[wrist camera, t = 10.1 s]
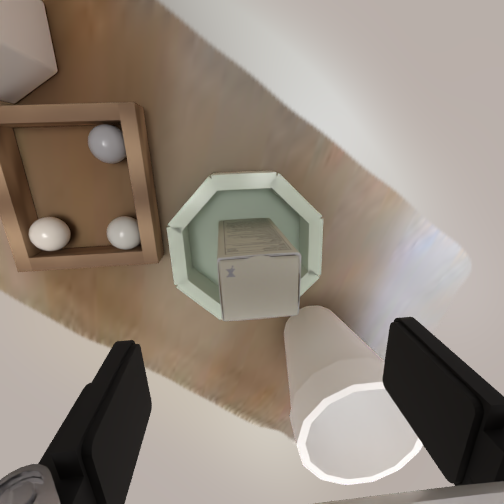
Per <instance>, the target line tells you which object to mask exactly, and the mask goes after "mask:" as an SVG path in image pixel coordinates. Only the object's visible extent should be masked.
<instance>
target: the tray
mask: <svg viewBox="0 0 504 504" xmlns="http://www.w3.org/2000/svg"><path fill="white" fill-rule="evenodd" d="M101 124H109V125H110V124H121V126H122V132H123V138H124V144H125V150H126V156H127V162H128V168H129V174H130V179H131V185H132V191H133V197H134V203H135V209H136V215H137V221H138V227H139V233H140V239H141V244H139V245H138V246H136V247H134V248H132V249H128V250H123V249H119V248H117V247H115V246H98V247H81V248H64V249H59V250H56V251H45V250H42V249H39V248H37V247H36V246H35V245H34V244H33V243H32V242H31V240H30V238H29V229H30V226H31V225H32V224H33V223H34V222H35V221H36V220H38V218H37V214H36V211H35V207H34V204H33V200H32V196H31V193H30V189H29V186H28V182H27V178H26V175H25V171H24V168H23V164H22V160H21V157H20V153H19V150H18V146H17V142H16V139H15V135H14V132H13V128H16V127H47V126H78V125H101ZM0 217H1V220H2V223H3V226H4V229H5V232H6V236H7V239H8V242H9V245H10V248H11V251H12V254H13V257H14V261H15V264H16V267H17V270H18V272H28V271H43V270H59V269H75V268H91V267H107V266H122V265H138V264H154V263H159V261H160V260H161V258H162V257H163V255H164V250H163V243H162V236H161V229H160V222H159V214H158V207H157V200H156V193H155V186H154V179H153V172H152V165H151V158H150V151H149V144H148V137H147V130H146V123H145V116H144V109H143V107H141V106H140V105H138V104H136V103H135V102H116V103H80V104H43V105H6V106H0Z"/></svg>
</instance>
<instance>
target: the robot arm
mask: <svg viewBox="0 0 504 504" xmlns="http://www.w3.org/2000/svg"><path fill="white" fill-rule="evenodd" d="M382 380H383V385H384V387H385V389H386V391H387V392H388V394H389V395H390V397H391V398H392V400H393V401H394V403H395V404H396V405H397V407H398V408H399V410H400V411H401V413H402V414H403V416H404V417H405V419H406V420H407V422H408V423H409V425H410V426H411V428H412V429H413V431H414V432H415V434H416V435H417V436H418V438H419V439H420V441H421V442H422V444H423V445H424V447H425V448H426V450H427V451H428V453H429V454H430V455H431V457H432V459H433V460H434V462H435V463H436V465H437V466H438V468H439V469H440V470H441V472H442V473H443V475H444V476H445V478H446V479H447V480H448V481H449V482H450V483H454V484H455V486H452V487H444V488H435V489H427V490H419V491H411V492H403V493H395V494H387V495H379V496H370V497H363V498H355V499H347V500H339V501H331V502H323V503H315V504H504V397H503V396H502V395H501V394H500V393H499V392H498V391H497V390H495V389H494V388H493V387H492V386H491V385H490V384H489V383H488V382H486V381H485V380H484V379H483V378H482V377H481V376H480V375H478V374H477V373H476V372H475V371H474V370H473V369H472V368H470V367H469V366H468V365H467V364H466V363H465V362H464V361H462V360H461V359H460V358H459V357H458V356H457V355H456V354H454V353H453V352H452V351H451V350H450V349H449V348H448V347H446V346H445V345H444V344H443V343H442V342H441V341H440V340H438V339H437V338H436V337H435V336H434V335H433V334H432V333H430V332H429V331H428V330H427V329H426V328H425V327H424V326H422V325H421V324H420V323H419V322H418V321H417V320H416V319H414V318H413V317H404V318H396V319H395V320H394V322H392V323H391V324H390V329H389V336H388V343H387V350H386V357H385V364H384V371H383V377H382ZM151 404H152V403H151V397H150V392H149V387H148V382H147V377H146V372H145V367H144V362H143V357H142V352H141V347H140V345H139V344H135V342H134V341H133V340H129V341H117V342H115V344H114V345H113V347H112V349H111V350H110V352H109V354H108V356H107V357H106V359H105V361H104V362H103V364H102V366H101V368H100V369H99V371H98V373H97V375H96V376H95V378H94V379H93V381H92V383H89V384H87V385H86V386H85V388H84V389H83V390H82V392H81V394H80V395H79V397H78V399H77V400H76V402H75V404H74V406H73V407H72V409H71V410H70V412H69V414H68V415H67V417H66V419H65V420H64V422H63V424H62V425H61V427H60V429H59V430H58V432H57V434H56V435H55V437H54V439H53V440H52V442H51V444H50V445H49V447H48V449H47V450H46V452H45V453H44V455H43V457H42V459H41V460H40V462H39V463H38V464H32V465H28V466H25V467H21V468H19V469H17V470H15V471H13V472H11V473H9V474H8V475H6V476H5V477H4V478H2V479H1V480H0V504H124V503H125V500H126V496H127V493H128V489H129V486H130V482H131V479H132V476H133V472H134V469H135V465H136V461H137V458H138V455H139V451H140V448H141V444H142V441H143V437H144V434H145V431H146V427H147V423H148V420H149V417H150V413H151V406H152V405H151Z"/></svg>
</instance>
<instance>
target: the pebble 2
mask: <svg viewBox="0 0 504 504" xmlns="http://www.w3.org/2000/svg"><path fill="white" fill-rule="evenodd" d="M88 146H89V149H90V151H91V152H92V154H93V155H94V156H95V157H96V158H97V159H99V160H100V161H102V162H105V163H118V162H120V161H122V160H123V159H124V158H125V157H126V150H125V144H124V138H123V132H122V131H121V130H120V129H119V128H117V127H115V126H113V125H109V124H101V125H98V126H96V127H94V128H93V129H92V130H91V131H90V133H89V136H88Z"/></svg>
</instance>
